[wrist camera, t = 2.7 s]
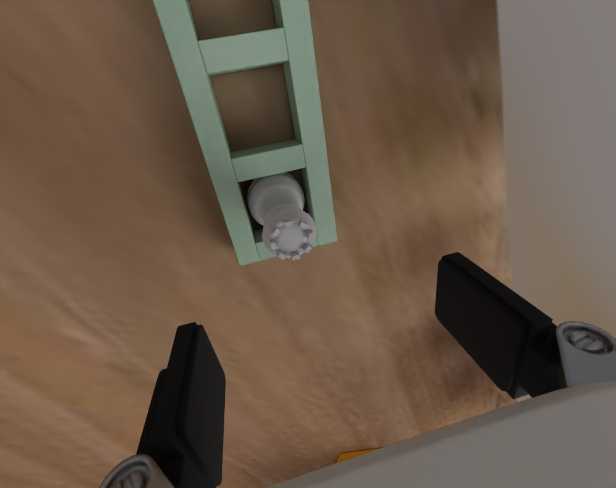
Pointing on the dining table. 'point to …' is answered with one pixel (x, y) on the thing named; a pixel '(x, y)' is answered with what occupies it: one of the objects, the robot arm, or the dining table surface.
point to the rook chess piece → (282, 215)
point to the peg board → (268, 158)
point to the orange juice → (352, 455)
